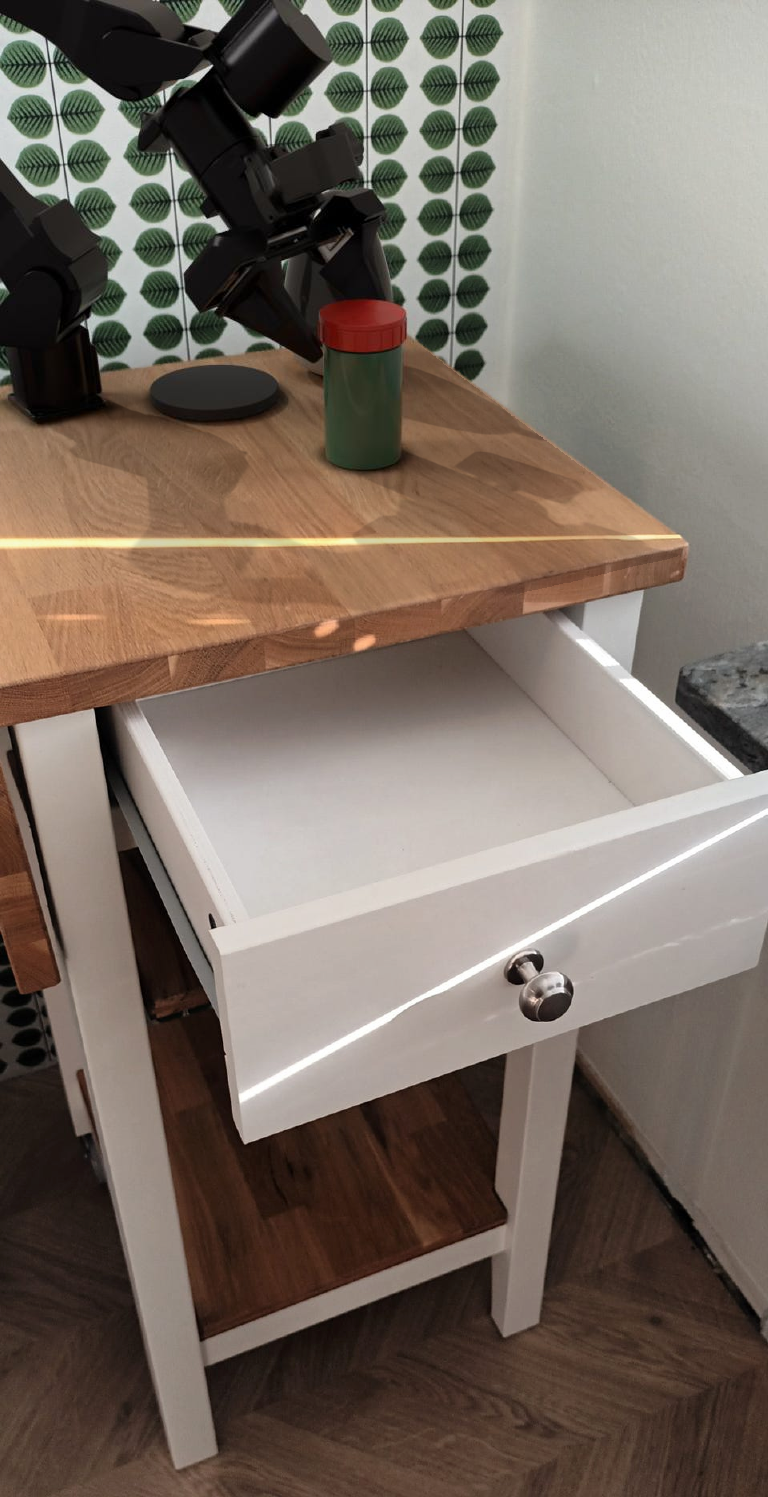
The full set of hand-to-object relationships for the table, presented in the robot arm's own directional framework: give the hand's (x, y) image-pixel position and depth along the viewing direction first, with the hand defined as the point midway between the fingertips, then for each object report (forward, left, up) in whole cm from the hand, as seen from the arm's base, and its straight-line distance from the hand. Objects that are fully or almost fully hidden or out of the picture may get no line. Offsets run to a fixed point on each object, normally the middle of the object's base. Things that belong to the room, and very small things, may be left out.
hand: (354, 342), depth 93 cm
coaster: (-3, +17, -9) cm, 19 cm away
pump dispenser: (+10, +17, -9) cm, 21 cm away
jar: (0, -1, -9) cm, 9 cm away
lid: (0, -1, +2) cm, 2 cm away
